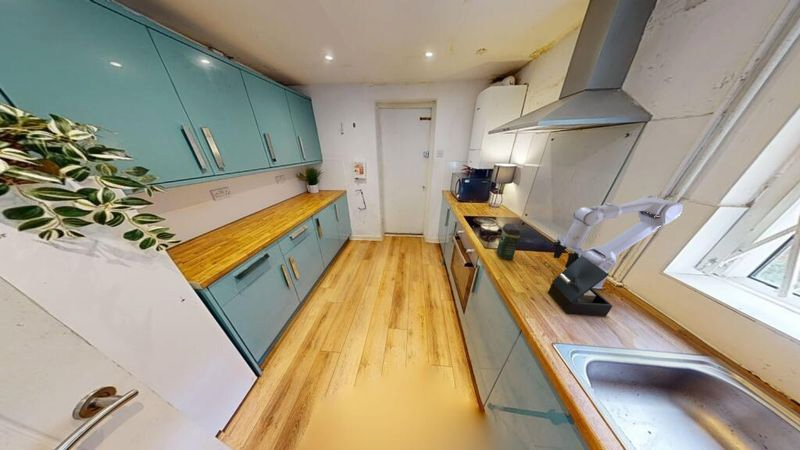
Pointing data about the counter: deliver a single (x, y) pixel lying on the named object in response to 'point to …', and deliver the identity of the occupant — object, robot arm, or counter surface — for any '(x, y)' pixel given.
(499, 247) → the coffee jar
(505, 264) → the counter surface
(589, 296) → the scrap block
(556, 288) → the block
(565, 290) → the caddy lid
